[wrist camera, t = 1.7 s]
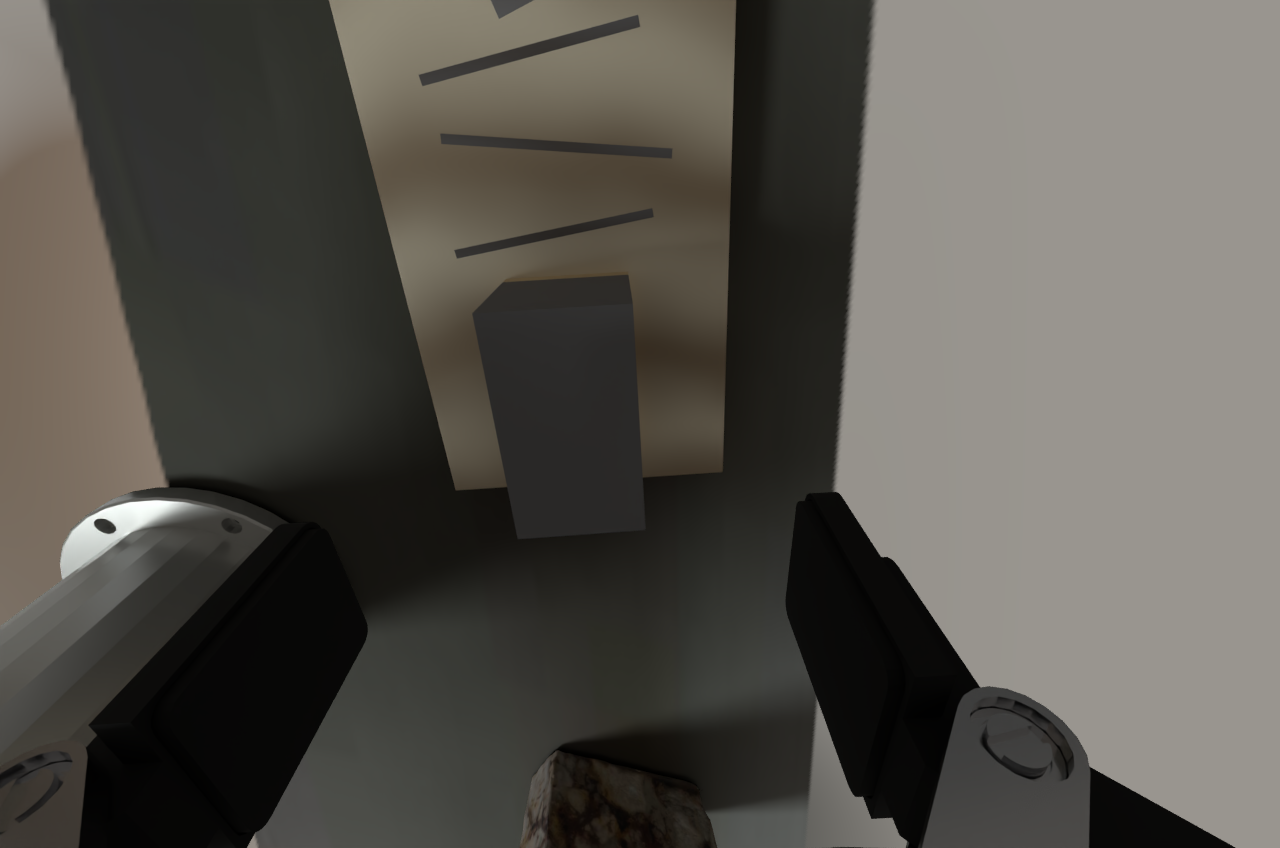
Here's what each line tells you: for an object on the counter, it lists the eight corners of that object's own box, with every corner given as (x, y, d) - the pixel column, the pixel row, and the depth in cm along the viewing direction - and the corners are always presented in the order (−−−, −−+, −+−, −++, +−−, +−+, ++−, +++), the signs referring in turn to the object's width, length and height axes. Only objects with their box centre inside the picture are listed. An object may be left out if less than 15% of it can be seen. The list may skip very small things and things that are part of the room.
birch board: (715, 454, 24) (722, 472, 23) (465, 471, 24) (455, 490, 23) (732, -327, 13) (747, -387, 12) (274, -311, 13) (233, -370, 12)
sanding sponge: (638, 458, 22) (645, 530, 18) (536, 464, 22) (517, 539, 18) (627, 271, 19) (632, 303, 14) (505, 278, 19) (471, 313, 14)
